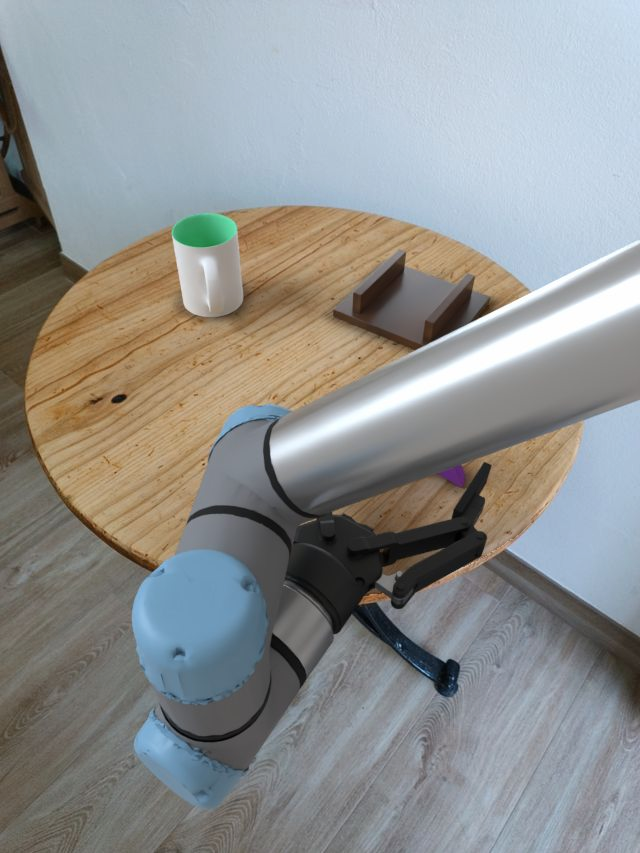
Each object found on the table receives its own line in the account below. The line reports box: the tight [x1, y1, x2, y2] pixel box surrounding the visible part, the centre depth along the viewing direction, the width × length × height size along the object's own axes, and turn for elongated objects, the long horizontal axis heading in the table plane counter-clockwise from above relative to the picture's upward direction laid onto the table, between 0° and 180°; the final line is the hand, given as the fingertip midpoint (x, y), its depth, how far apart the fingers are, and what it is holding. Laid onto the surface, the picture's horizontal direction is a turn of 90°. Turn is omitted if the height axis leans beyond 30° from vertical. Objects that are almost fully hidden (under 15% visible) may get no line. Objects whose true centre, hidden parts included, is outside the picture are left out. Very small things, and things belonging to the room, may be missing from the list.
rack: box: [332, 249, 491, 351], centre depth 90 cm, size 16×14×4 cm
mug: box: [171, 212, 244, 318], centre depth 88 cm, size 12×8×10 cm, turn 16°
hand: (421, 442), depth 67 cm, fingers open, 13 cm apart
